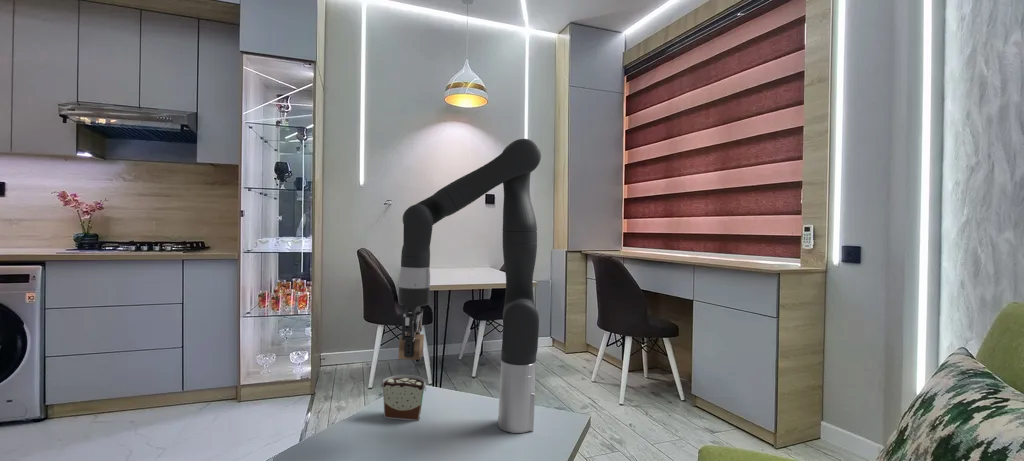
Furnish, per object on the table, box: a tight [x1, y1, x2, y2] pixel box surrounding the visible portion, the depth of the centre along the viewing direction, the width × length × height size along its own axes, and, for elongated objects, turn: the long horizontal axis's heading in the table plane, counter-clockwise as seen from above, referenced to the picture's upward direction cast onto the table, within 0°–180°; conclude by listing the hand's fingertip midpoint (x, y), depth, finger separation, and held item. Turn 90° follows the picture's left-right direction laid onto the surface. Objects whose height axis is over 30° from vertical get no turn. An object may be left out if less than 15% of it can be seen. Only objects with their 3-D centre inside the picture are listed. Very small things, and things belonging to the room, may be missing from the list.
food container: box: [380, 374, 427, 422], centre depth 122 cm, size 12×6×10 cm, turn 84°
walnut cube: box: [398, 333, 425, 361], centre depth 111 cm, size 5×5×5 cm
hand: (411, 353), depth 111 cm, fingers closed on walnut cube, 5 cm apart
